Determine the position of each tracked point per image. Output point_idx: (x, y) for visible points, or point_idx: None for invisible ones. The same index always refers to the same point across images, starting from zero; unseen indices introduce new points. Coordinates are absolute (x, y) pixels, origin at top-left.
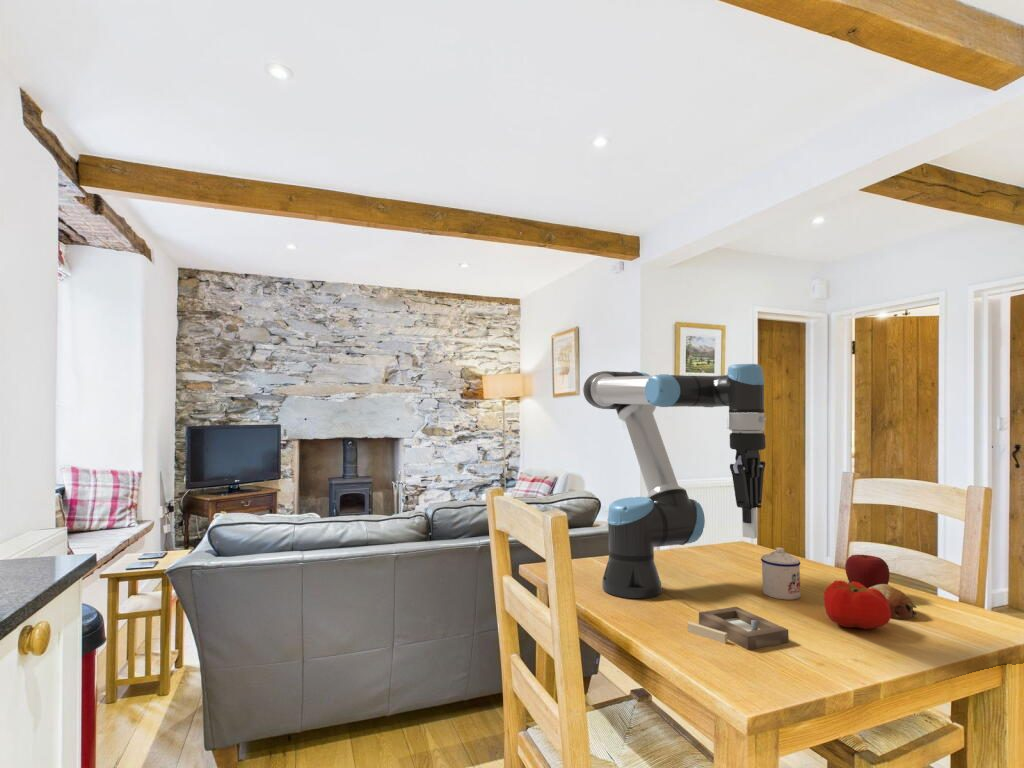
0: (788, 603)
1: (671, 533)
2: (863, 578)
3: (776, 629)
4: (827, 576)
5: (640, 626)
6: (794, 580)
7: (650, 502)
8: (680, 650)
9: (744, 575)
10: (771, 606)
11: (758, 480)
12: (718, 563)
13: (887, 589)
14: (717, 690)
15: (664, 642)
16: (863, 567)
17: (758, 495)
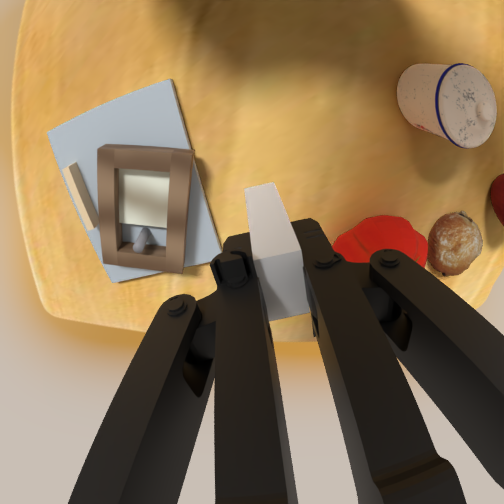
0: (390, 128)
1: None
2: (501, 208)
3: (164, 265)
4: None
5: (43, 88)
6: (437, 135)
7: None
8: (46, 190)
9: (459, 4)
10: (350, 117)
11: (461, 420)
12: None
13: (459, 263)
14: (42, 280)
15: (41, 158)
16: None
17: (391, 343)
